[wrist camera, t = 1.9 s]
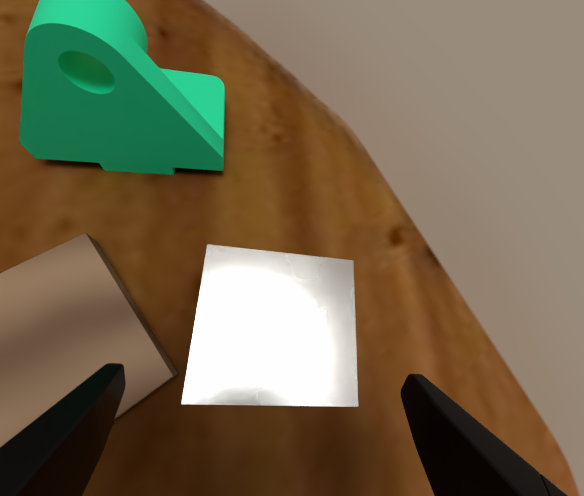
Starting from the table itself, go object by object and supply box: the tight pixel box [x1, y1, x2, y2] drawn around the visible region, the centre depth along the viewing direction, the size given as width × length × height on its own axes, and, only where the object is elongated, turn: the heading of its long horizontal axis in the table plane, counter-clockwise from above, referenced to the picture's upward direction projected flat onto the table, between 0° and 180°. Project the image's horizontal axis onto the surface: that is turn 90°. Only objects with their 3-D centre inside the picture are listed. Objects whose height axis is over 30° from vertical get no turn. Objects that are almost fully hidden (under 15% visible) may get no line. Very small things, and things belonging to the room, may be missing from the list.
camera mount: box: [20, 0, 225, 175], centre depth 17 cm, size 12×8×10 cm, turn 94°
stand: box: [0, 233, 178, 447], centre depth 15 cm, size 10×10×2 cm
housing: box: [181, 245, 358, 407], centre depth 14 cm, size 6×6×10 cm
